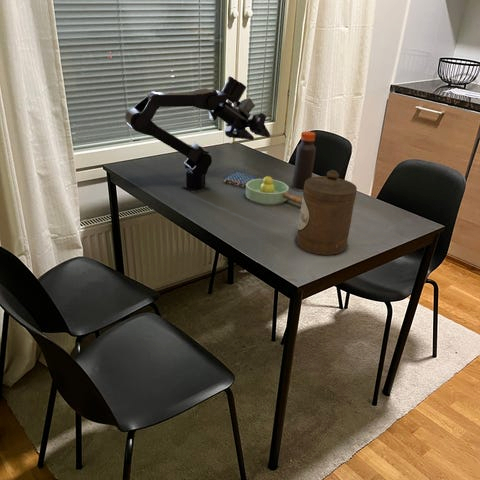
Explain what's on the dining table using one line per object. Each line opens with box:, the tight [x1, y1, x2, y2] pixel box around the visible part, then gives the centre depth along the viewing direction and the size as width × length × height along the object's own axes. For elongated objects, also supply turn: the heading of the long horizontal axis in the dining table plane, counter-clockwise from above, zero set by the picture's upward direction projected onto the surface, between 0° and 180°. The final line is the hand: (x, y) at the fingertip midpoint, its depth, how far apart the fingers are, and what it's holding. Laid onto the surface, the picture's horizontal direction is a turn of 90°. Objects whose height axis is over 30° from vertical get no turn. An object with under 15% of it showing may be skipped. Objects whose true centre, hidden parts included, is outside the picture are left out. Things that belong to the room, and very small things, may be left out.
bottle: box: [291, 131, 317, 191], centre depth 179 cm, size 7×7×20 cm
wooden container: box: [296, 169, 358, 256], centre depth 140 cm, size 15×15×22 cm
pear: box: [260, 172, 274, 193], centre depth 172 cm, size 5×5×8 cm
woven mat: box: [223, 171, 259, 188], centre depth 185 cm, size 10×11×2 cm
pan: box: [244, 178, 290, 205], centre depth 174 cm, size 15×15×4 cm
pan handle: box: [283, 192, 303, 206], centre depth 166 cm, size 2×12×2 cm, turn 47°
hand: (261, 137), depth 179 cm, fingers open, 9 cm apart
